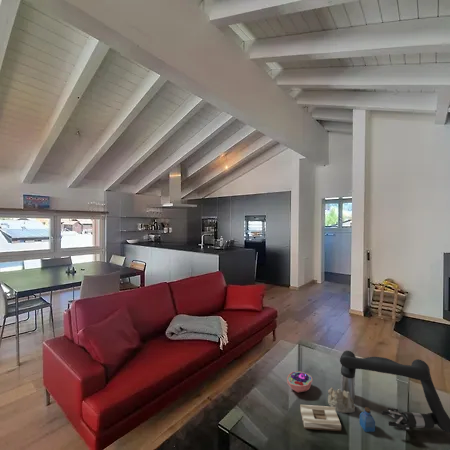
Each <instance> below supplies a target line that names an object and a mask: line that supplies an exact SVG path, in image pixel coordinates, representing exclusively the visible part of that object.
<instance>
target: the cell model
mask: <svg viewBox="0 0 450 450" xmlns="http://www.w3.org/2000/svg"><path fill="white" fill-rule="evenodd" d="M286 380H287V381H286V383H287V385H288V386H289V388H291V390H293V391H294V392H296V393H303V392H308V391H309V390H310V388H311V386H312V383H313V377H312V375H310V374H309V373H307V372H304V371H300V370H296V371H292V372H290V373H289V374H288V376H287V377H286Z"/></svg>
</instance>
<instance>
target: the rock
mask: <svg viewBox="0 0 450 450" xmlns="http://www.w3.org/2000/svg"><path fill="white" fill-rule="evenodd" d="M327 392H328V396H327V402H328V403H327V404H328V405H329V406H330V407H334V408H335V411H336V412H338V413H342V414H346V413H347V414H349V413H355V410H356V407H355V405H354V404H355V403H354V402H355V400H354V401H353V400H352V398H351V397H350V393H349V392H348V391H347V393H346V391H345V390H344V391H341V388H338V389H334V388H333V387H330V388H329V389H328V390H327Z"/></svg>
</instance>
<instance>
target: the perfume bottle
mask: <svg viewBox="0 0 450 450" xmlns="http://www.w3.org/2000/svg"><path fill="white" fill-rule="evenodd" d="M359 425H360V426H361V429H362V430H363V431H364V432H365V433H372V432H376V420H375V419H374V417H373V416H372V414H371V408H369V407H367V406H365V407H364V410H363V411H362V412H361V413H360V414H359Z"/></svg>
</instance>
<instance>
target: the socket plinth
mask: <svg viewBox="0 0 450 450" xmlns="http://www.w3.org/2000/svg"><path fill="white" fill-rule="evenodd" d="M299 405H300V406H299V411H300V415H301V419H302V425H303V429H306V430H316V431H317V430H319V431H332V432H342V424H341V422H340V419H339V416H338V413H337V411H335V408H334V407H331V406H330V405H329V406H327V405H326V406H325V405H315V404H314V405H313V404H312V405H311V404H299Z"/></svg>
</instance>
